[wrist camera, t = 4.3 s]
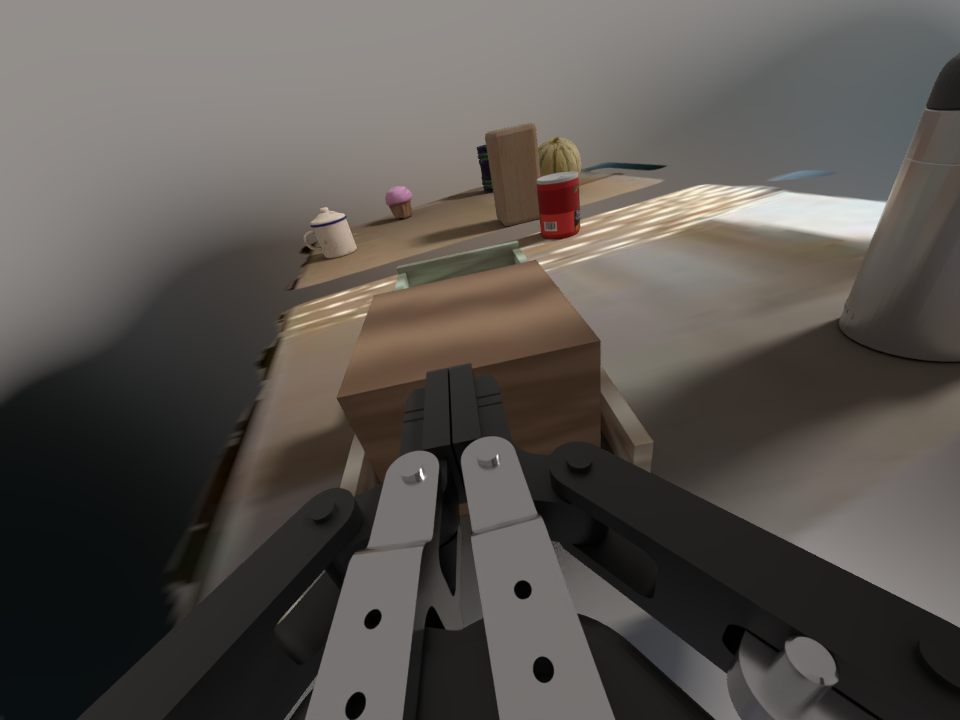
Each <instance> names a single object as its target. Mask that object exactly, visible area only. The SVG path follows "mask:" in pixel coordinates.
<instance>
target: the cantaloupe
mask: <svg viewBox="0 0 960 720" xmlns="http://www.w3.org/2000/svg"><path fill="white" fill-rule="evenodd" d="M538 155H539V167H540V177H543V176H546V175H550V174H555V173H561V172H570V171H574V172H578V176H579V175H580V171H581V159H580V155H579V152H578V150H577V148H576V146H575V145H574V144H573V143H572V142H571V141H569V140H567V139H563V138H559V137H556V138H554V139H551V140H548V141H546V142H545V143H543V144H542V145H541V146H540V147H539V148H538Z"/></svg>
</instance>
